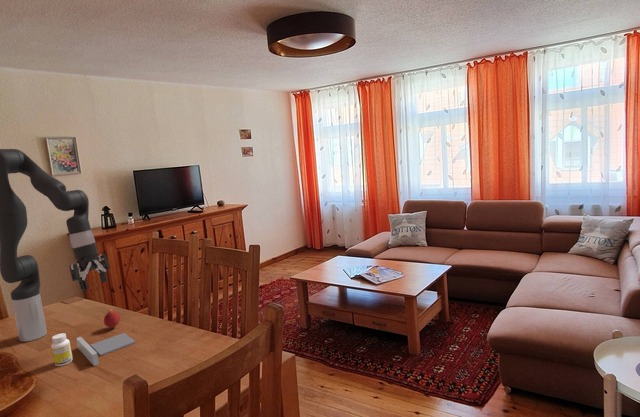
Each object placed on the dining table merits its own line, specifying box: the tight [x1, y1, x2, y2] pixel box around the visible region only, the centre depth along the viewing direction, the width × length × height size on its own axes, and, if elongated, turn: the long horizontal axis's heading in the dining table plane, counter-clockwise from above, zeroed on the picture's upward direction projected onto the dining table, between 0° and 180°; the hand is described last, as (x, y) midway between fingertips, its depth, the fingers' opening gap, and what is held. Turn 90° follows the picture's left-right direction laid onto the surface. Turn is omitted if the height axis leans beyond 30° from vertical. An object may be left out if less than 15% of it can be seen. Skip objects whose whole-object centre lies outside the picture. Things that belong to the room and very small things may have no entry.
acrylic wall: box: [76, 336, 100, 367], centre depth 139 cm, size 20×2×4 cm, turn 45°
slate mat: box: [90, 332, 137, 356], centre depth 147 cm, size 12×12×1 cm
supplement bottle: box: [51, 332, 74, 367], centre depth 136 cm, size 5×5×10 cm
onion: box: [103, 309, 121, 329], centre depth 162 cm, size 6×6×8 cm
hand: (95, 286), depth 146 cm, fingers open, 8 cm apart
